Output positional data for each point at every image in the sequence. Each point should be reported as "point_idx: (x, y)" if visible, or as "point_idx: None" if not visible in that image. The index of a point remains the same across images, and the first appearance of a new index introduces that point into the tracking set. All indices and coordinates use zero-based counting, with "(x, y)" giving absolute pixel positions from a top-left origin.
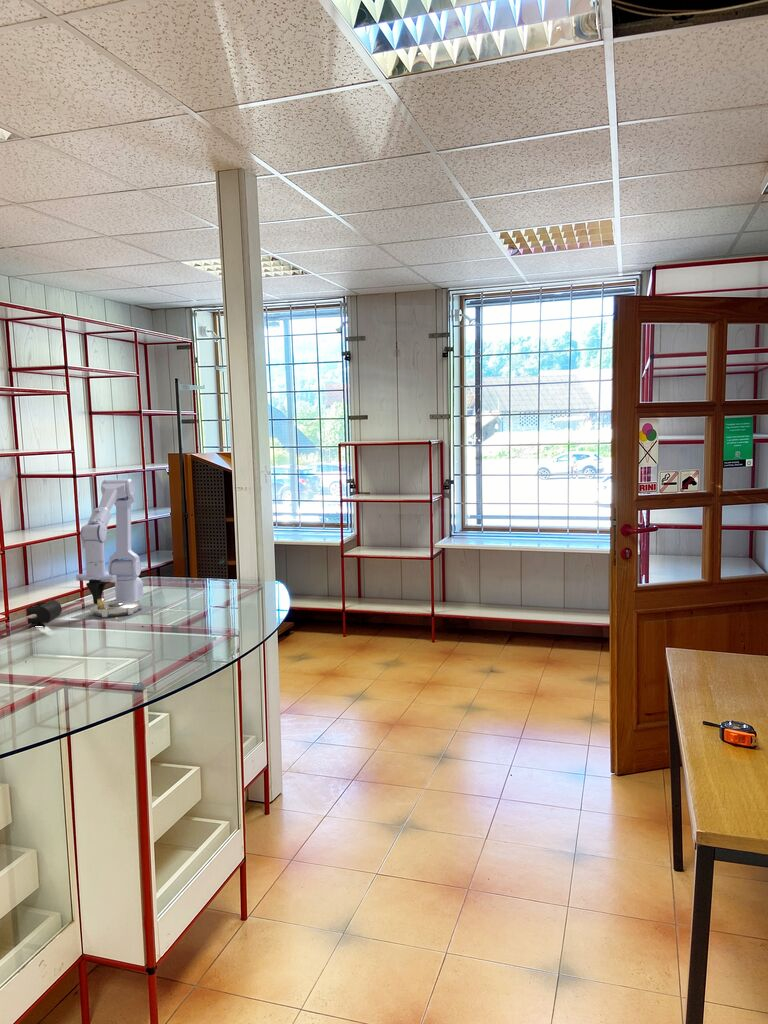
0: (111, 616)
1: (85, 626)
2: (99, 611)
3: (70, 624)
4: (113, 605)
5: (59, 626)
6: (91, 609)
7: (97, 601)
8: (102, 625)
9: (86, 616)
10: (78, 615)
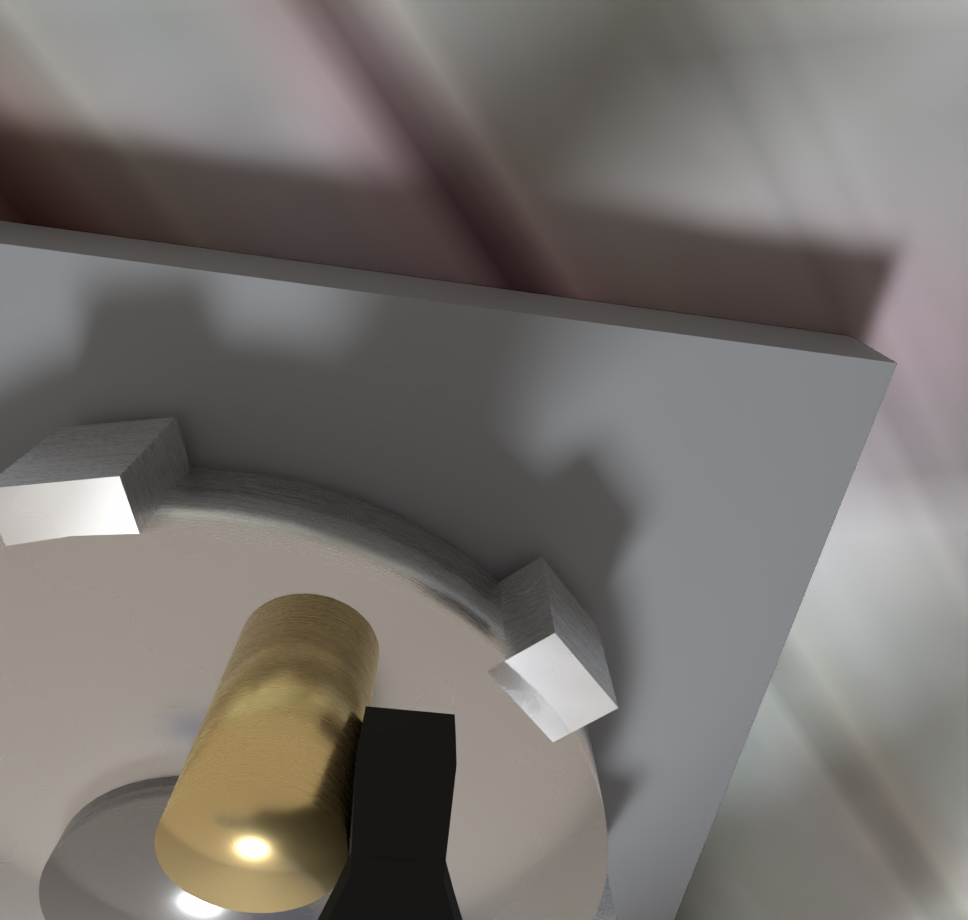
0: None
1: (360, 80)
2: (257, 528)
3: (775, 208)
4: (133, 808)
5: (943, 19)
6: (540, 629)
7: (297, 742)
8: (60, 199)
9: (597, 490)
10: (799, 542)
